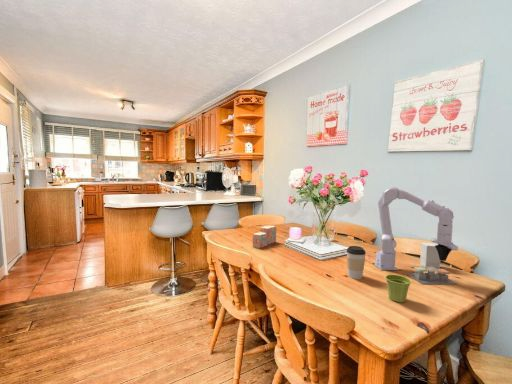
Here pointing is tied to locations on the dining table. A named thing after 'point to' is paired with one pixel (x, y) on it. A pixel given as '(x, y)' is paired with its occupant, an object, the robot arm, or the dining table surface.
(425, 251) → the supplement box
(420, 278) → the keypad base
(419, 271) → the key sage
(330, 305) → the dining table surface
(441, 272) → the key terracotta
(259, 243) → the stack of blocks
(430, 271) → the key cream
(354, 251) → the coffee cup
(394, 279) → the plant pot
